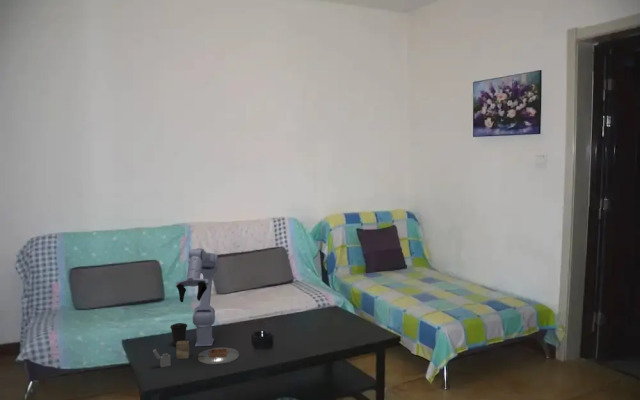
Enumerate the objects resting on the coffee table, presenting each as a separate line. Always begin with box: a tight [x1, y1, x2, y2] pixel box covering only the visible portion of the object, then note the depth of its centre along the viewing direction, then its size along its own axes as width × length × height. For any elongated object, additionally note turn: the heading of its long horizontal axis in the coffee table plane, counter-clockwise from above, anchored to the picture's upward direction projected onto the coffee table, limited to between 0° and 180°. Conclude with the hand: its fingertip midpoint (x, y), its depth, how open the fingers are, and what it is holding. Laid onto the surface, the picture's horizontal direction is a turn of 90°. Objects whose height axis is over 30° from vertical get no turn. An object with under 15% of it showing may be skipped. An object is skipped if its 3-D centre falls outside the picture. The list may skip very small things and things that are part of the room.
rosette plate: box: [197, 347, 240, 366], centre depth 230 cm, size 18×18×2 cm
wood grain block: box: [175, 340, 190, 360], centre depth 230 cm, size 3×5×7 cm, turn 94°
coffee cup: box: [169, 322, 188, 347], centre depth 246 cm, size 8×8×10 cm
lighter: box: [152, 348, 172, 368], centre depth 220 cm, size 7×2×8 cm, turn 117°
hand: (189, 300), depth 218 cm, fingers open, 7 cm apart
